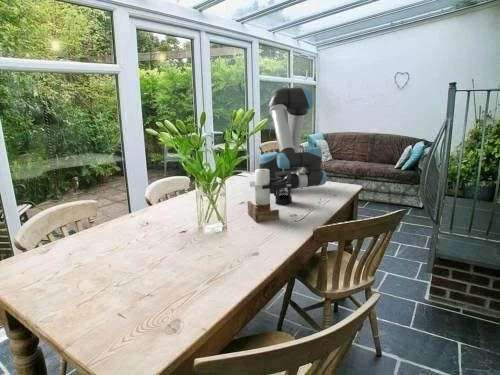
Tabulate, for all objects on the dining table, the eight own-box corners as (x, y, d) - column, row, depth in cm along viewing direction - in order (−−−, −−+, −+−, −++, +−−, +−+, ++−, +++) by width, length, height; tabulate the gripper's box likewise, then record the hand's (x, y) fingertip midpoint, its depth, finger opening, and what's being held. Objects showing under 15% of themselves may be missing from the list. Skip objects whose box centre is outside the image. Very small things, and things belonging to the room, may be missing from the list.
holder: (248, 214, 170) (247, 201, 168) (269, 211, 173) (269, 198, 171) (256, 222, 158) (255, 208, 156) (279, 219, 162) (278, 205, 160)
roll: (253, 201, 166) (252, 169, 162) (267, 200, 168) (266, 168, 164) (258, 205, 159) (257, 172, 155) (272, 203, 161) (271, 170, 157)
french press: (296, 202, 185) (296, 161, 179) (285, 206, 179) (284, 164, 173) (280, 198, 194) (280, 159, 188) (269, 202, 188) (268, 161, 182)
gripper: (305, 192, 158) (259, 198, 151) (288, 183, 177) (246, 188, 170) (305, 177, 156) (259, 182, 150) (288, 169, 175) (245, 174, 168)
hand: (252, 185), depth 160 cm, fingers closed on roll, 7 cm apart
